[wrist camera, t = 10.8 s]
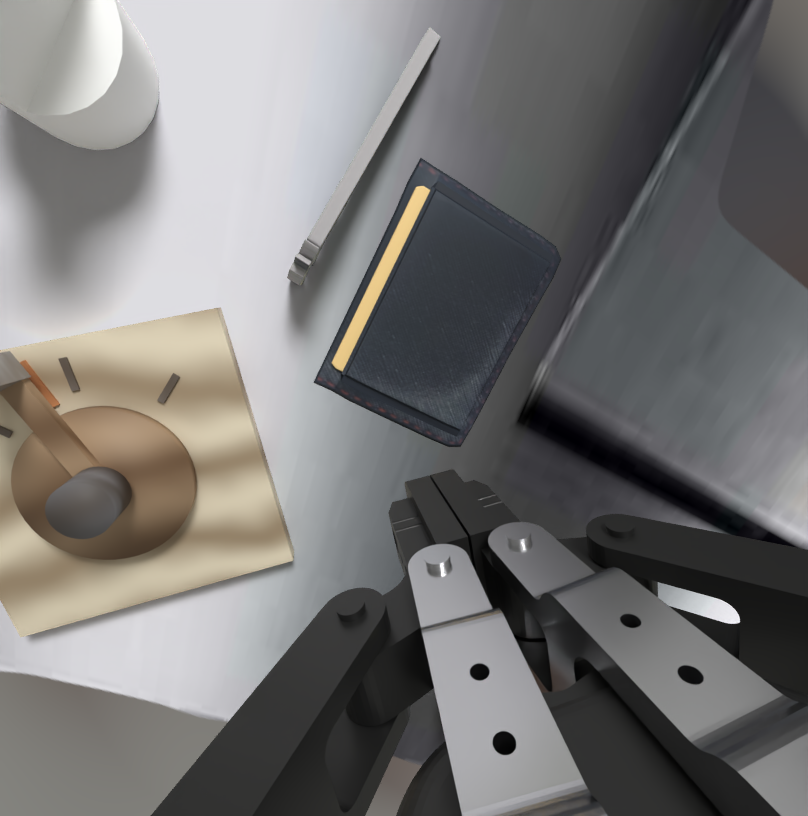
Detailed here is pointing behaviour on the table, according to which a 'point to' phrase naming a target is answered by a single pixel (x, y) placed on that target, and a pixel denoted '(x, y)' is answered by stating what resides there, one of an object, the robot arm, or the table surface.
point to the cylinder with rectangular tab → (77, 70)
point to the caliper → (361, 159)
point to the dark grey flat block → (438, 309)
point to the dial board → (194, 426)
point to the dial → (96, 474)
